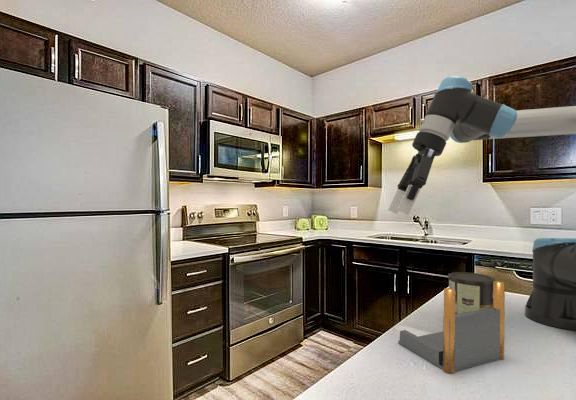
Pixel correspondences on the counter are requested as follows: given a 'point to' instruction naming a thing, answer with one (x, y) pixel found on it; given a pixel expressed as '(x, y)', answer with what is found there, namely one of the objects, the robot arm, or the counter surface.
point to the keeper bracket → (463, 335)
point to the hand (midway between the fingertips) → (397, 212)
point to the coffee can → (471, 291)
